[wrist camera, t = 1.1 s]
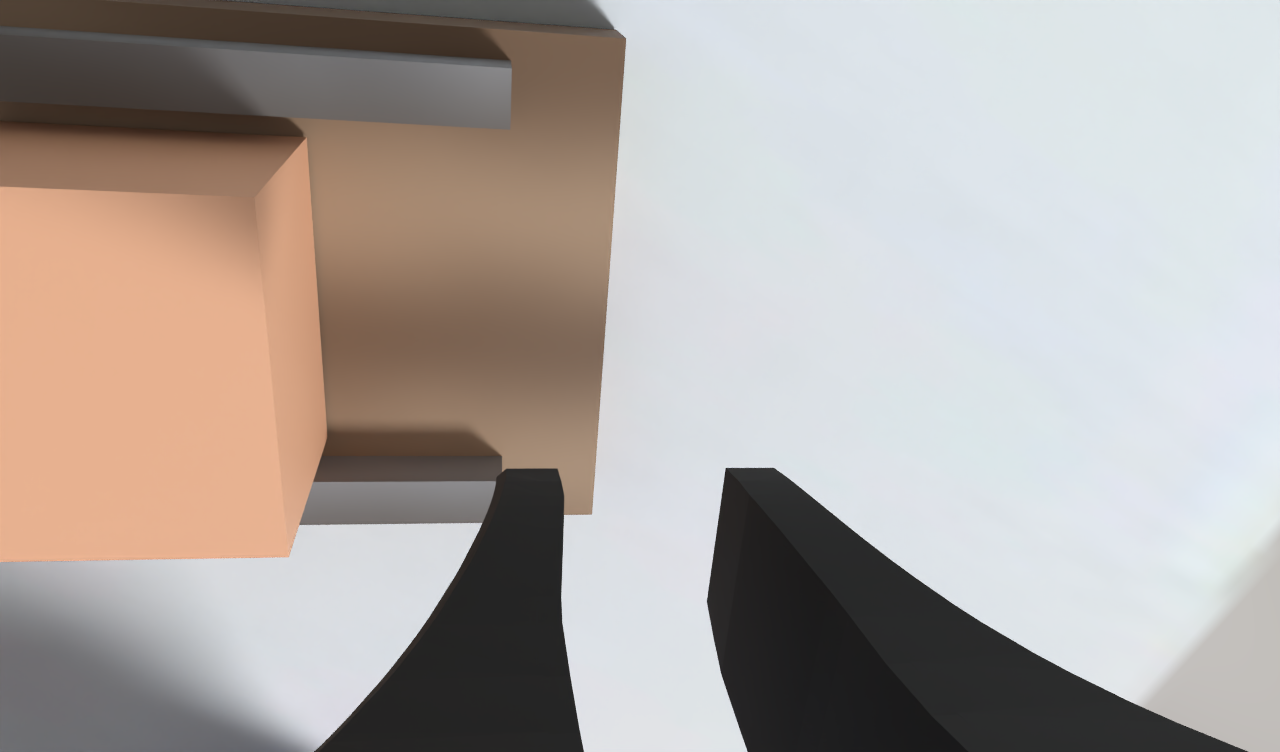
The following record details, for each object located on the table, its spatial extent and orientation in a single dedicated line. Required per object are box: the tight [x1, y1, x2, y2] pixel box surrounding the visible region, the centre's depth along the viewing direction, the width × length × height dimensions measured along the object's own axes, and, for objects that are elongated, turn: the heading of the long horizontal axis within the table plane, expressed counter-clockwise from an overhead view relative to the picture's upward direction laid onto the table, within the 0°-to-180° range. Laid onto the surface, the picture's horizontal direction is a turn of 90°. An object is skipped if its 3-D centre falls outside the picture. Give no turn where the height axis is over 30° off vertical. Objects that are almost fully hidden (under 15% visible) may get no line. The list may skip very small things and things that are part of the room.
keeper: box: [0, 121, 327, 562], centre depth 15 cm, size 6×5×4 cm
